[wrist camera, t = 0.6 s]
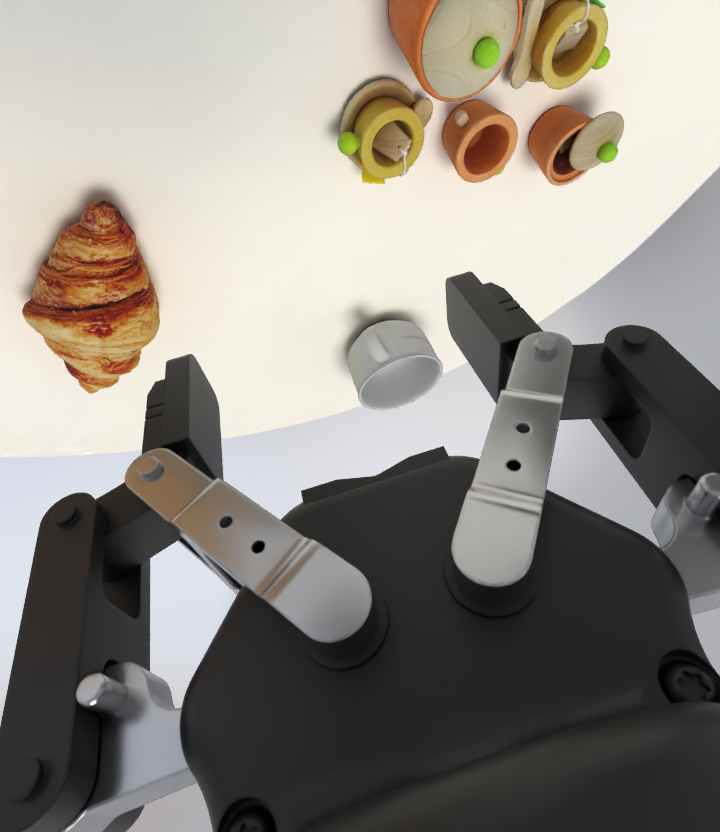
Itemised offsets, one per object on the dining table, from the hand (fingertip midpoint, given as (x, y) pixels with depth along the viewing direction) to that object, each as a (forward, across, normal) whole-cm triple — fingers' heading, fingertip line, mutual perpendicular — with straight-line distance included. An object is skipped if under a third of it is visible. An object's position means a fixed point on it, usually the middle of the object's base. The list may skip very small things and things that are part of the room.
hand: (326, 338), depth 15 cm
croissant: (+30, +18, +10) cm, 37 cm away
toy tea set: (+31, -19, +2) cm, 37 cm away
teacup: (+36, -7, +28) cm, 46 cm away
